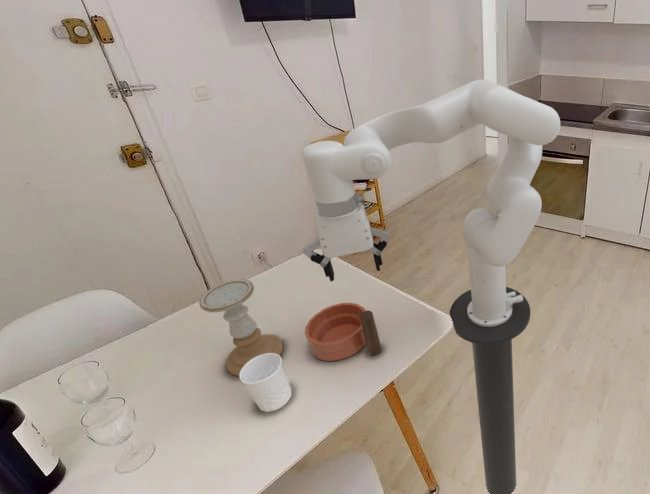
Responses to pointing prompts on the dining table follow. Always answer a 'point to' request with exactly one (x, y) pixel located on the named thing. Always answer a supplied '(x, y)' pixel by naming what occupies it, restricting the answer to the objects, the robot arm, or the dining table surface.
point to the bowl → (336, 332)
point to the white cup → (266, 381)
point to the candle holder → (239, 323)
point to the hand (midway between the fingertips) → (355, 272)
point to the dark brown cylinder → (370, 332)
